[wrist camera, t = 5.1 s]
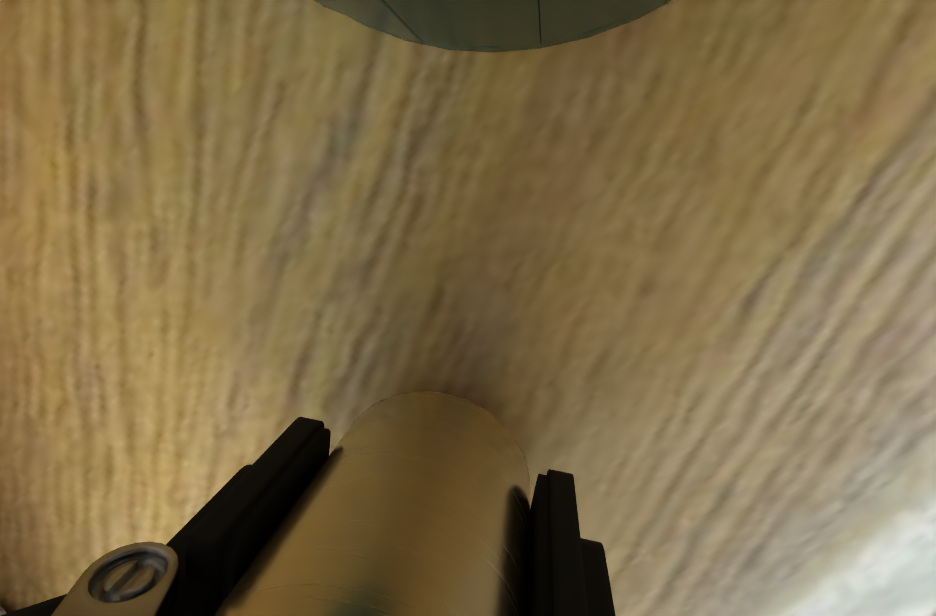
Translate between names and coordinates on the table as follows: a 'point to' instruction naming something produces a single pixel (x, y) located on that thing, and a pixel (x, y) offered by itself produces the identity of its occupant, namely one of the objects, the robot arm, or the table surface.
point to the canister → (492, 20)
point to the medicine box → (2, 611)
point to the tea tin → (403, 521)
